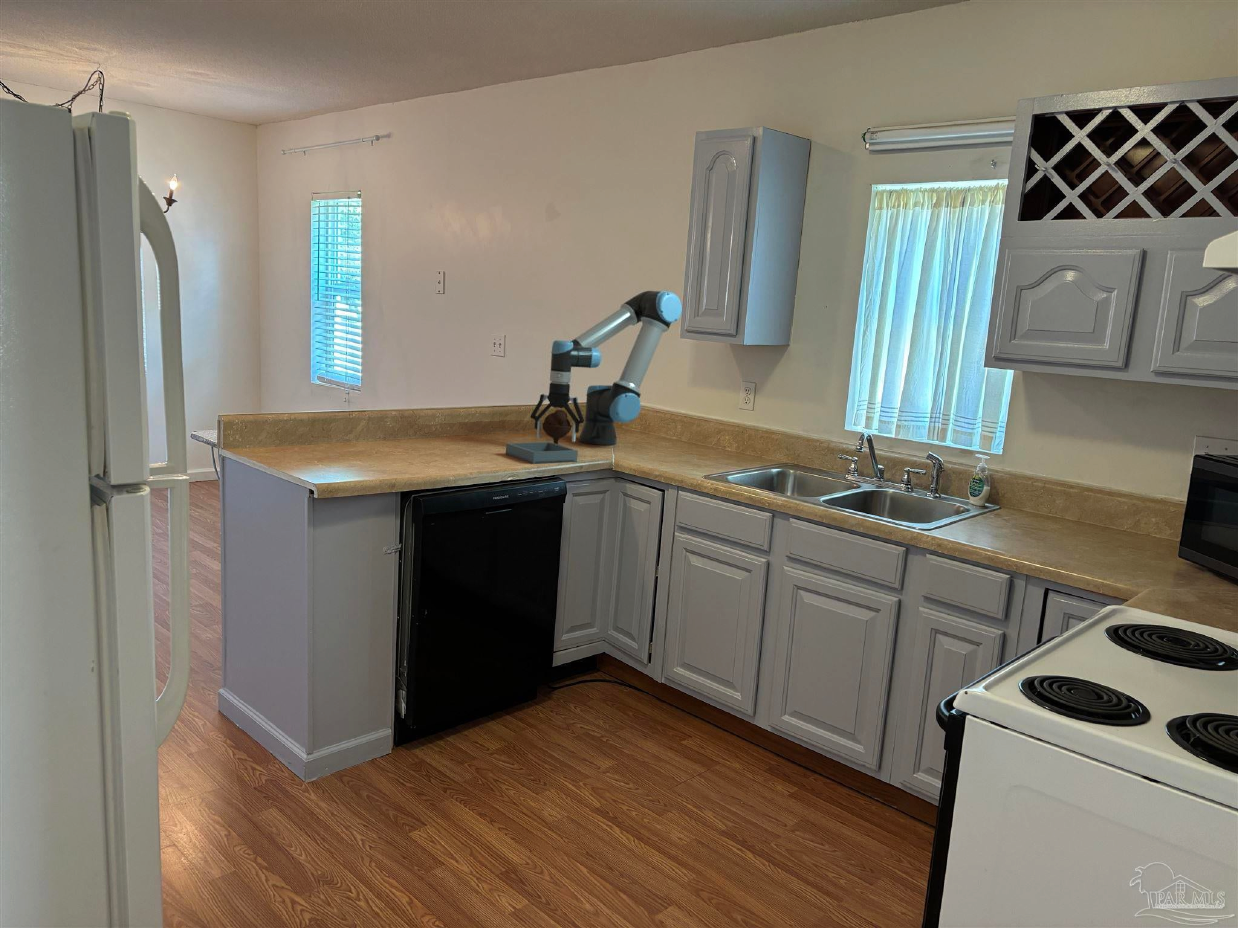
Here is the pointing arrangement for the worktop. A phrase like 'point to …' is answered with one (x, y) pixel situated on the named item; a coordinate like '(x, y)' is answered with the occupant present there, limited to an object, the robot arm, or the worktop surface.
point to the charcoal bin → (541, 452)
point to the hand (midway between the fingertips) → (555, 439)
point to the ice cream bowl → (556, 425)
